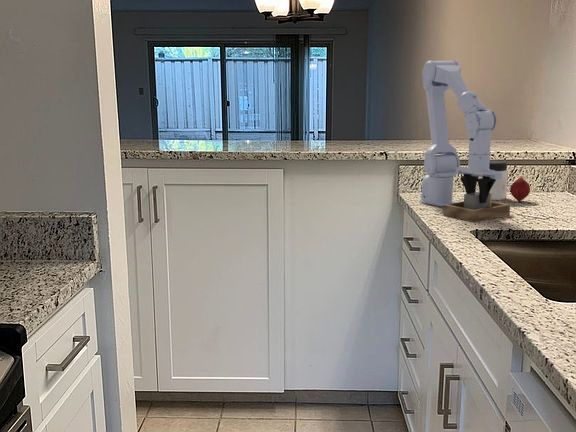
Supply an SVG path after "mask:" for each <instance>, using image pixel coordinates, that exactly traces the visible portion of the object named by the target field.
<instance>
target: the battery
mask: <svg viewBox="0 0 576 432" xmlns="http://www.w3.org/2000/svg"><path fill="white" fill-rule="evenodd" d="M463 201H464V208H467V209H472V210H476V209H481V208H486V207H491V201H493V200H492V193H489V195H488V198H487V201H486V203H480V202H479V192H478V191H475V192H474V193H468V194H466V193H465V194H464V195H463Z"/></svg>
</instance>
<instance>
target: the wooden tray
mask: <svg viewBox="0 0 576 432" xmlns="http://www.w3.org/2000/svg"><path fill="white" fill-rule="evenodd" d="M456 202H457V203H451V204H446V205H444V206H443V208H442V209H443V211H442V212H443V214H442V215H443V216H447V217H451V218H454V219H455V218H456V219H459V220H460V219H461V220H465V221H469V222H475V223H477V222H483V220H484V221H488V220H491V219H492V220H493V219H497V218H502V217H507V216H510V215H511V214H510V213H511V204H508V203H502V202H497V201H493V200H491V207H486V208H481V209H476V210H472V209H467V208H464V200H463V201H456ZM487 219H488V220H487Z"/></svg>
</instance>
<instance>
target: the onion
mask: <svg viewBox="0 0 576 432" xmlns="http://www.w3.org/2000/svg"><path fill="white" fill-rule="evenodd" d="M509 190H510V194H511V196H512V197H513V198H514V199H515V200H516V201H518V202H521V201H523V200H525V199H526V198H527V197H528V196H529V195H530V193H531V186H530V184H529V182H528V181H526V180H525V179H524V177H523V176H519V178H518V179H516V180H514V182H512V184H511V186H510V189H509Z"/></svg>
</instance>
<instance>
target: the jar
mask: <svg viewBox="0 0 576 432" xmlns="http://www.w3.org/2000/svg"><path fill="white" fill-rule="evenodd" d="M489 169H490V170H494V171H498V172H502V179H499V180H496V182H495V183H494V184H493V186H492V188H491V190H490V192H489V193H492V200H491V201H501V200H504V199H505V200H506V199H507V195H508V194H507V193H508V192H507V191H508V173H509V170H508V162H507V161H505V160H493V159H492V160H490V162H489ZM479 175H482V174H479ZM479 178H482V177H479ZM479 178H478V179H479ZM477 192H479V185H478V184H477Z"/></svg>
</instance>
